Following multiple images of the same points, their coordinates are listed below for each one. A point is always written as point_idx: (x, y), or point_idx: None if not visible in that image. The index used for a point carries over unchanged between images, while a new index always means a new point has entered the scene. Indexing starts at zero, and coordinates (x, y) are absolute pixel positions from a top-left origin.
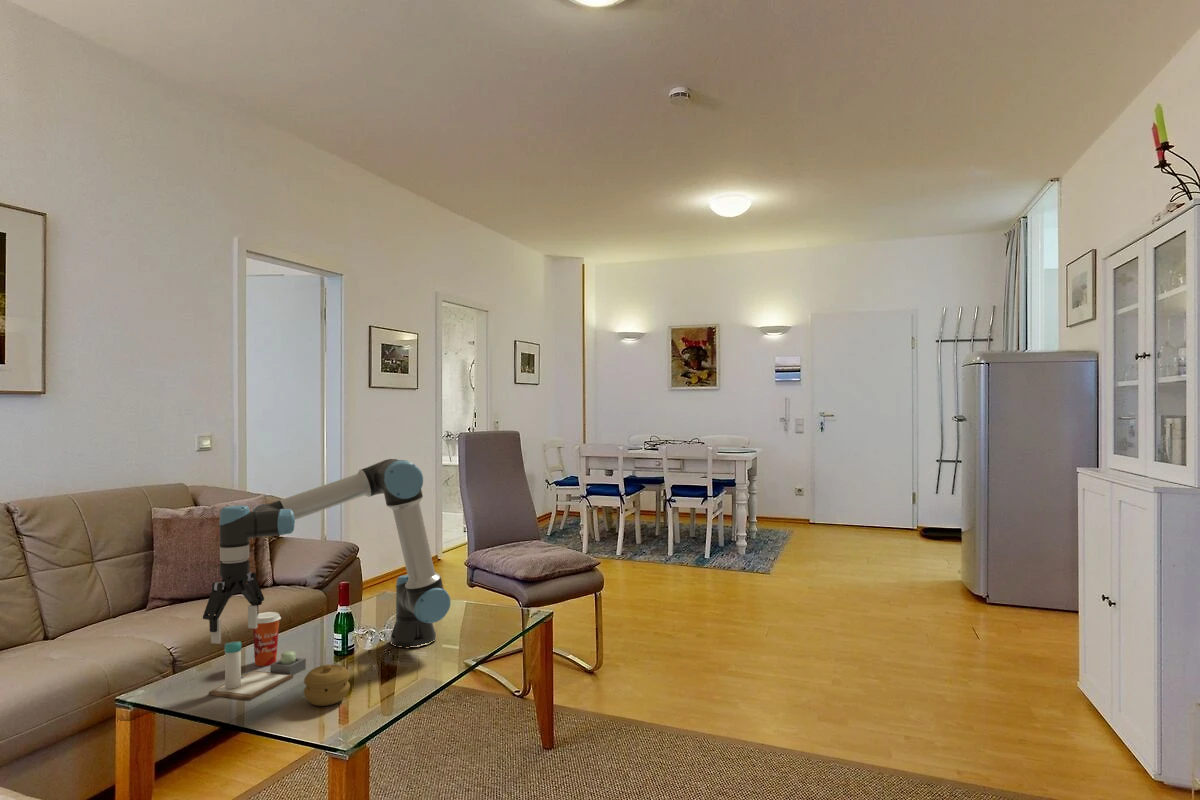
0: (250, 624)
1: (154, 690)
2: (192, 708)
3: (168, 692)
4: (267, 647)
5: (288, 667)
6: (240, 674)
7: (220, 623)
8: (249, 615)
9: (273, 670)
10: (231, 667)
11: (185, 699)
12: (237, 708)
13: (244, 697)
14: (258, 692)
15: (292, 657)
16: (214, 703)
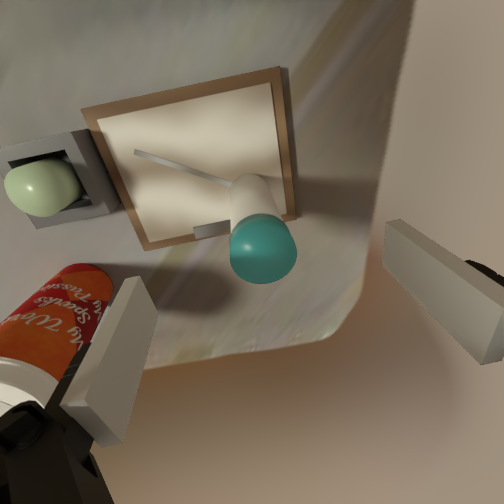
0: (148, 316)
1: (316, 324)
2: (371, 172)
3: (315, 297)
4: (69, 295)
5: (76, 139)
6: (238, 188)
7: (478, 284)
8: (137, 364)
9: (111, 195)
10: (273, 201)
11: (333, 237)
12: (339, 43)
13: (282, 92)
14: (242, 77)
15: (33, 164)
16: (331, 150)
